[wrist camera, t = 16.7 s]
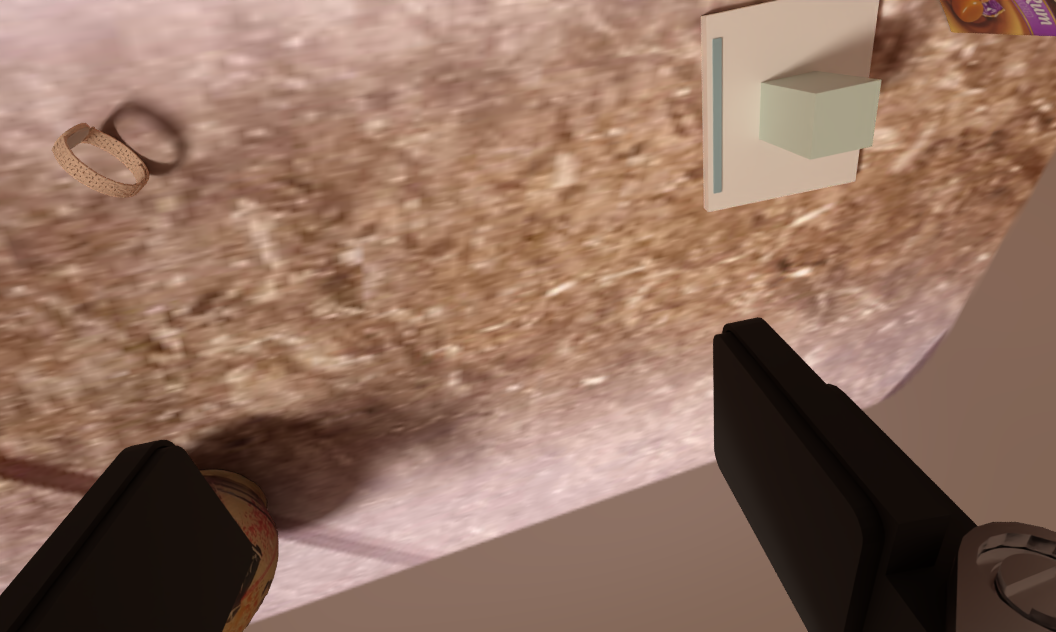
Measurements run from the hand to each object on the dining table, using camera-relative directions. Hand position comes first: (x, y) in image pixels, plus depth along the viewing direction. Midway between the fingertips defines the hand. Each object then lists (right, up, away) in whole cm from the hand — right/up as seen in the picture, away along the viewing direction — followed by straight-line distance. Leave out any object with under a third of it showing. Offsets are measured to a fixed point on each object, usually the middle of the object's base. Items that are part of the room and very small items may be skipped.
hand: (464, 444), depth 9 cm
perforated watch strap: (-28, +14, +28) cm, 42 cm away
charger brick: (+20, +18, +29) cm, 40 cm away
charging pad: (+20, +18, +30) cm, 41 cm away
